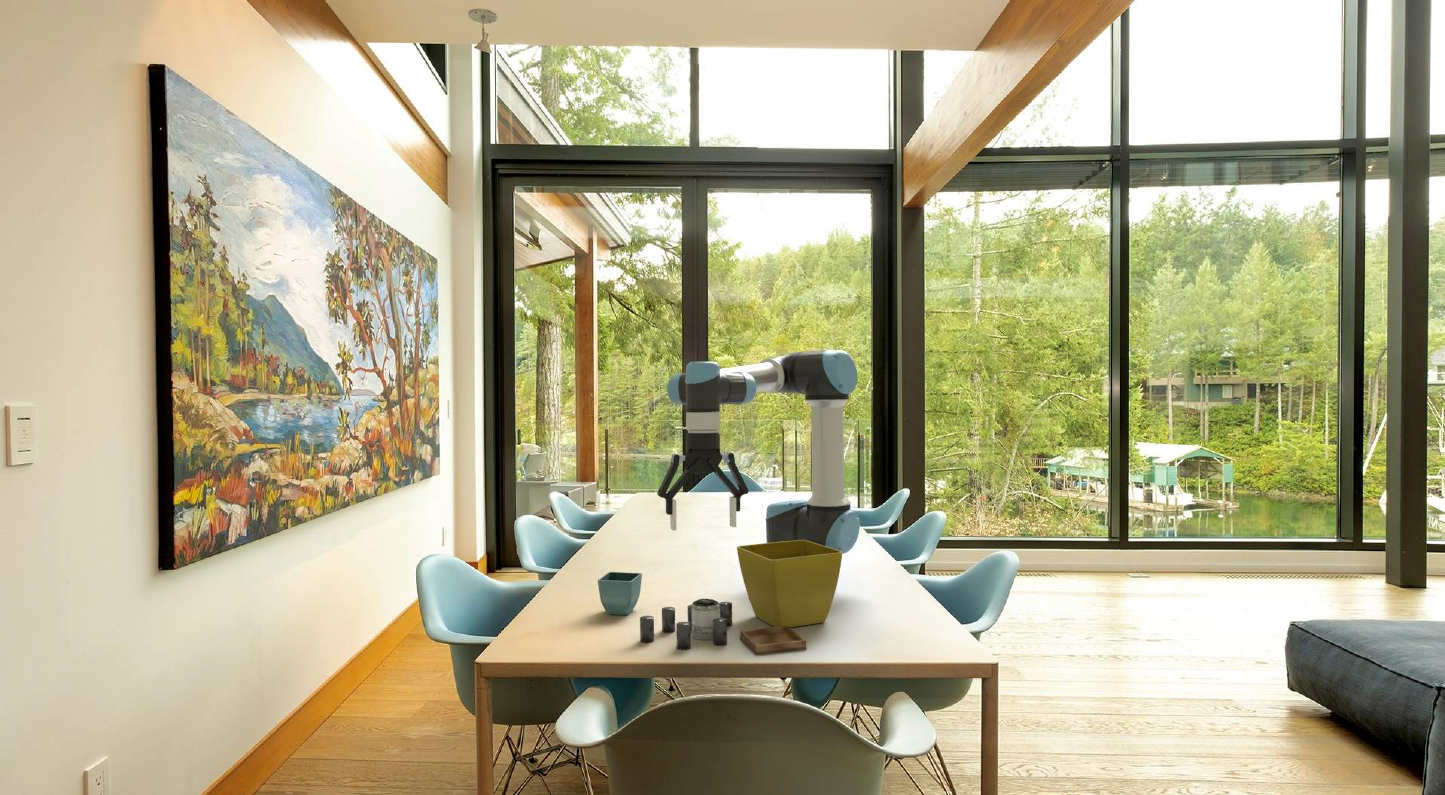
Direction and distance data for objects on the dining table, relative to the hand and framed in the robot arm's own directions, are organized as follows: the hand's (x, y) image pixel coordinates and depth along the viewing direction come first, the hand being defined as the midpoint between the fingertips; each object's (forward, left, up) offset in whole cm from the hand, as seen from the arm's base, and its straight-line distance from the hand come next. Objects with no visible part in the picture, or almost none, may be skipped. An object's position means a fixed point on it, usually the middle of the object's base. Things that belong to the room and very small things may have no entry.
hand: (703, 528), depth 174 cm
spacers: (+3, 0, -24) cm, 24 cm away
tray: (-12, +10, -24) cm, 29 cm away
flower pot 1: (+15, -25, -24) cm, 38 cm away
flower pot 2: (-22, -6, -24) cm, 33 cm away
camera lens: (0, 0, -24) cm, 24 cm away
